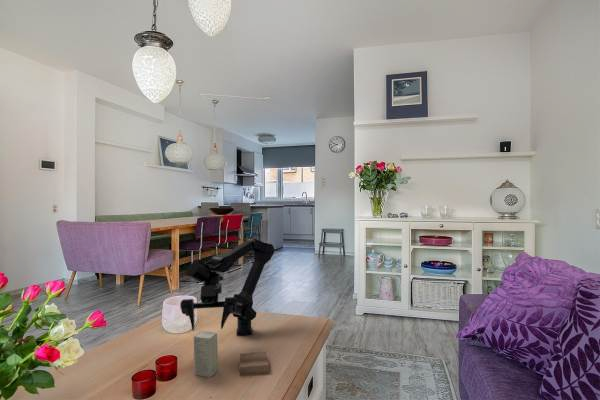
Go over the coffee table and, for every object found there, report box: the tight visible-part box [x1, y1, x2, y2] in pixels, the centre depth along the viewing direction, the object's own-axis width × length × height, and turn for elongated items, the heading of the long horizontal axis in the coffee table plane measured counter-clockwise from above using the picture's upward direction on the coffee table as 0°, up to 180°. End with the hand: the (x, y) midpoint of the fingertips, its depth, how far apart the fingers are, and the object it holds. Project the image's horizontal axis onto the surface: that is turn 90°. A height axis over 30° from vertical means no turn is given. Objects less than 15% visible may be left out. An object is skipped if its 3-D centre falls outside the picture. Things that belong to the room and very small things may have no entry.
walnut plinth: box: [239, 351, 270, 376], centre depth 105 cm, size 9×9×2 cm
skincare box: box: [193, 330, 219, 378], centre depth 102 cm, size 6×4×12 cm
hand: (207, 329), depth 107 cm, fingers open, 9 cm apart
